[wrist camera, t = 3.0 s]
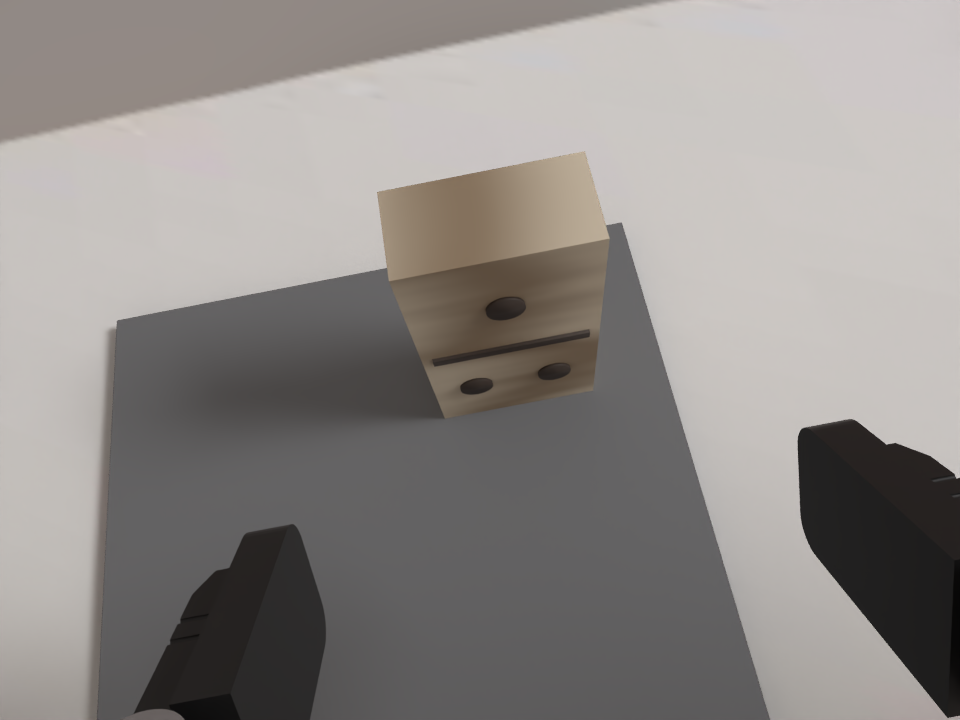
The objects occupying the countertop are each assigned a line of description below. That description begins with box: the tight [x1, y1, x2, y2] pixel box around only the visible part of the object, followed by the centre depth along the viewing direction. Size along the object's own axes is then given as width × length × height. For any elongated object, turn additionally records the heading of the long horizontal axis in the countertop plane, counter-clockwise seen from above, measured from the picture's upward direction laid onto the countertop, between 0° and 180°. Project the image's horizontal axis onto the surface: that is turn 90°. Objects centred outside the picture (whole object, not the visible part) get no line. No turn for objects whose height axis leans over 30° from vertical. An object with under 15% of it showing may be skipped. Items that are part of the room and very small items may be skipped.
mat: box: [97, 223, 770, 720], centre depth 23 cm, size 19×24×1 cm
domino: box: [377, 151, 610, 419], centre depth 21 cm, size 5×3×9 cm, turn 99°
